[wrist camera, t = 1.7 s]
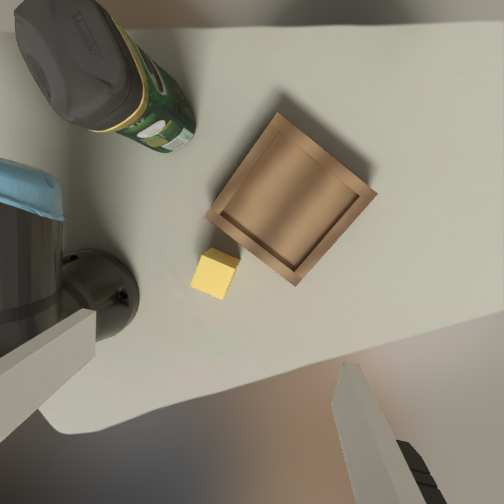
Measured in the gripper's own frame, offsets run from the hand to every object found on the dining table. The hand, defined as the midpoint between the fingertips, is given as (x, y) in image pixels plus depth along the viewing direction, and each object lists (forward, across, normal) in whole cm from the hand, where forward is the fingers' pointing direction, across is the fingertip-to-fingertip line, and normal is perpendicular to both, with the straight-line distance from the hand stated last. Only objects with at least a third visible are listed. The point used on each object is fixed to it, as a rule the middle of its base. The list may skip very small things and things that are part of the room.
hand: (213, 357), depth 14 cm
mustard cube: (+27, -5, -4) cm, 28 cm away
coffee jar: (+27, -16, +16) cm, 35 cm away
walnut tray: (+27, +4, +7) cm, 28 cm away
